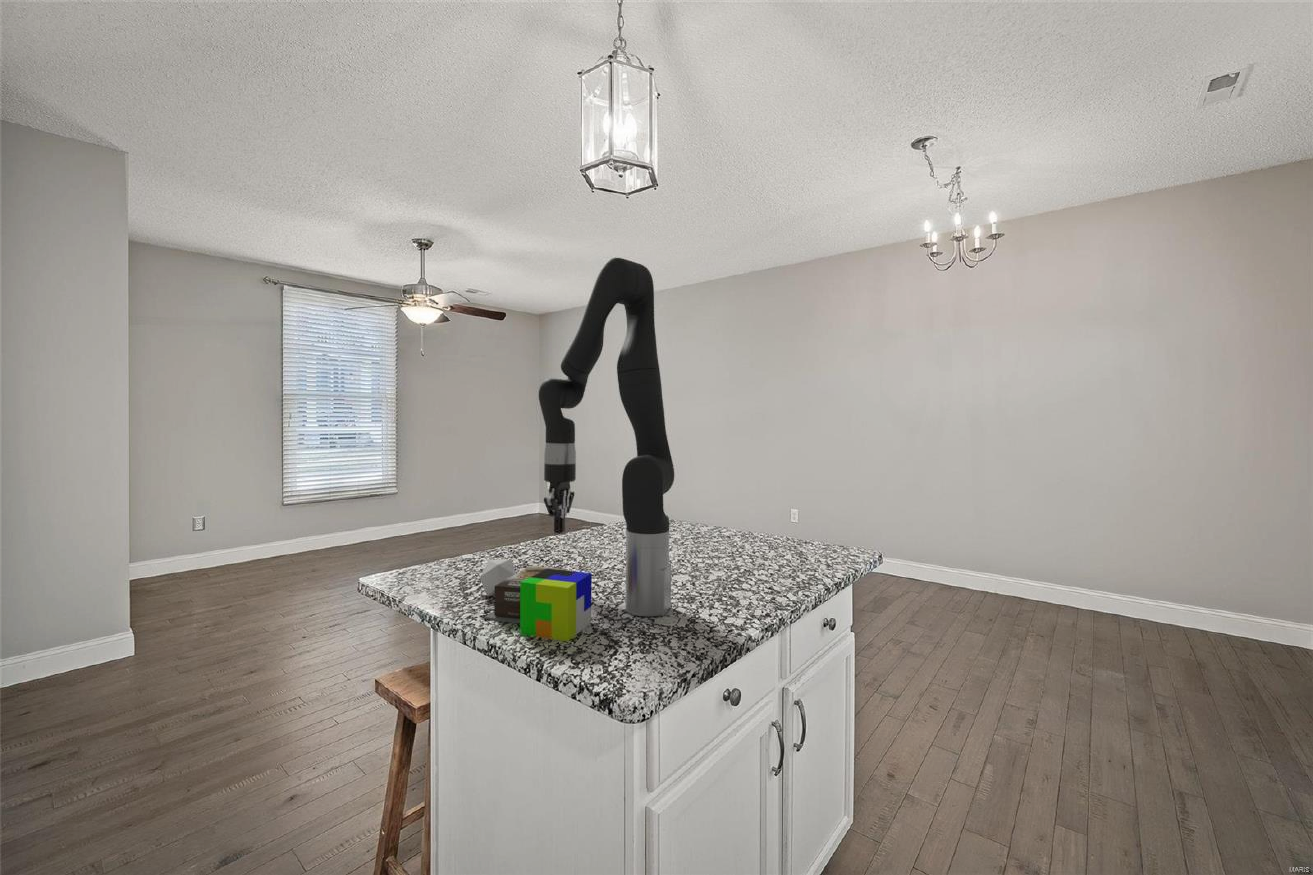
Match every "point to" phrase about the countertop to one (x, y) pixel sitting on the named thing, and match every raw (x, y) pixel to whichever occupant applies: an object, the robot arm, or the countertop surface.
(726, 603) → the countertop surface
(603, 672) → the countertop surface
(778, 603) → the countertop surface
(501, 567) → the die
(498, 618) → the mat
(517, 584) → the coffee box
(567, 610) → the puzzle toy
